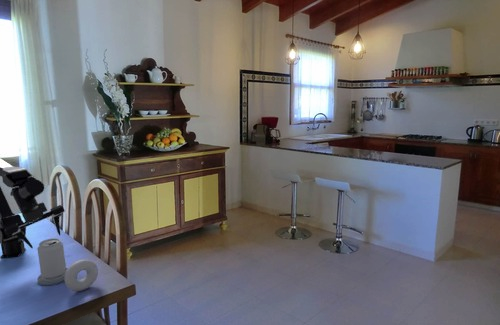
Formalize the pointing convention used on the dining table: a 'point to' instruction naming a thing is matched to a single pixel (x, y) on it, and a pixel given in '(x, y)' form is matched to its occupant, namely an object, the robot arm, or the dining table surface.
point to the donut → (86, 282)
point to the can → (51, 258)
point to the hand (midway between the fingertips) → (46, 241)
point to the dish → (51, 280)
